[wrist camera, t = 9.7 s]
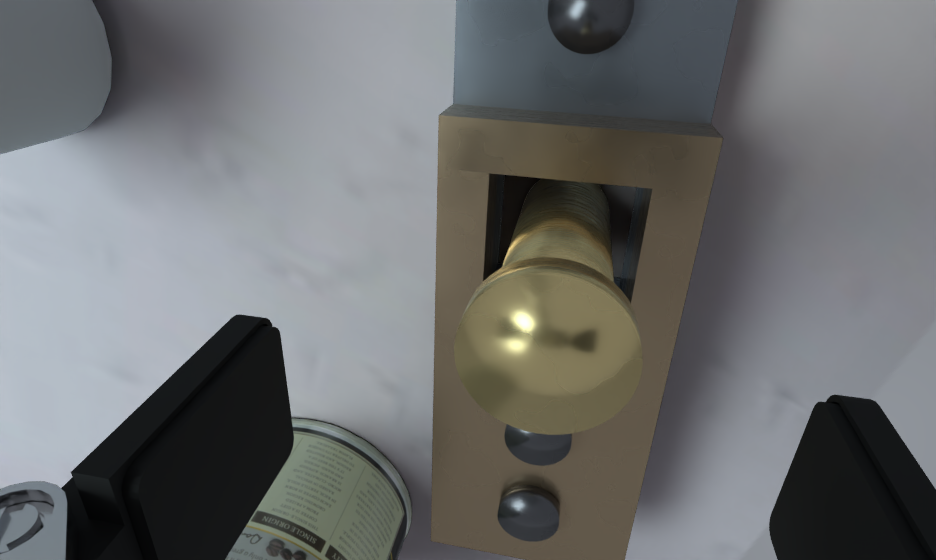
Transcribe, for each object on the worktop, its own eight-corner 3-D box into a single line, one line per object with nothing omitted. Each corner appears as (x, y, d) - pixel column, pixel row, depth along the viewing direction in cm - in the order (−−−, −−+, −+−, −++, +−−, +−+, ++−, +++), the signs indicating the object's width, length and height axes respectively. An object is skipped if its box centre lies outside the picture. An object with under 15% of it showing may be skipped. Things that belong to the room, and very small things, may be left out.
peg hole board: (479, -277, 16) (441, -367, 12) (784, -284, 15) (853, -385, 11) (451, 474, 29) (427, 552, 25) (617, 503, 28) (620, 591, 24)
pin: (514, 152, 21) (457, 265, 13) (632, 163, 21) (658, 289, 12) (506, 258, 23) (451, 419, 14) (613, 270, 23) (626, 447, 14)
